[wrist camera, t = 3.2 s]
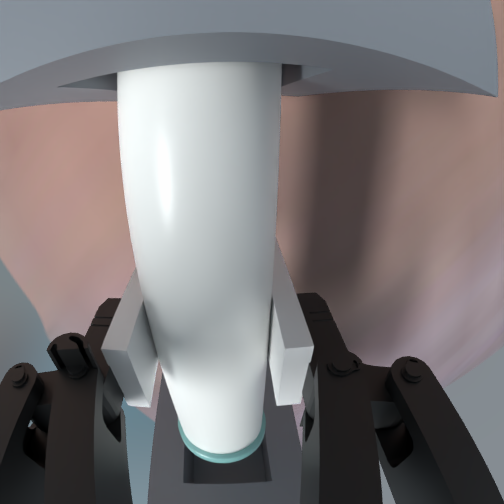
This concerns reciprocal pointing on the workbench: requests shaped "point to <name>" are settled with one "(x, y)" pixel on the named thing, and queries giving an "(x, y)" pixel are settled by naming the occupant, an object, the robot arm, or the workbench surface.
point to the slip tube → (205, 237)
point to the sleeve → (246, 44)
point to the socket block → (226, 474)
